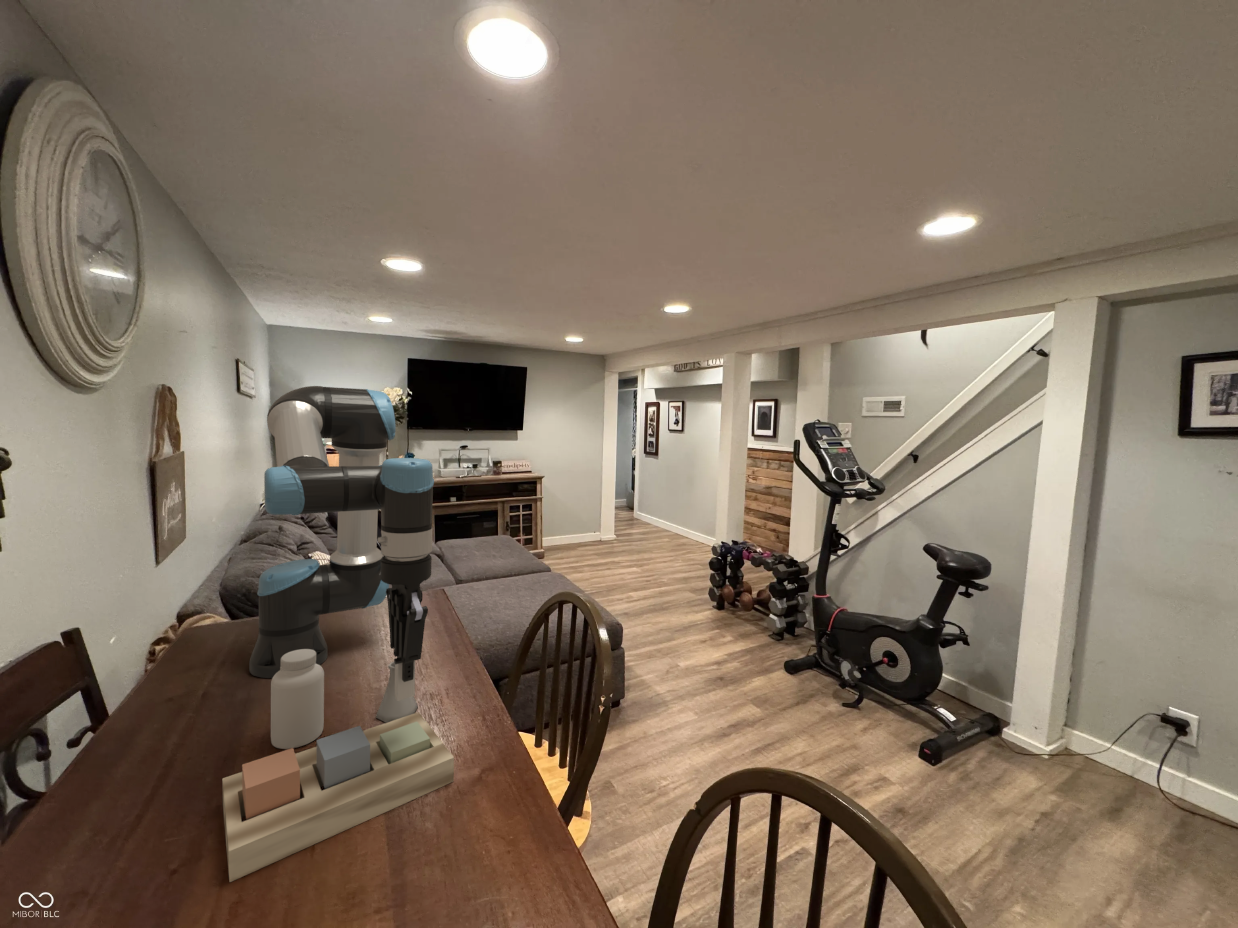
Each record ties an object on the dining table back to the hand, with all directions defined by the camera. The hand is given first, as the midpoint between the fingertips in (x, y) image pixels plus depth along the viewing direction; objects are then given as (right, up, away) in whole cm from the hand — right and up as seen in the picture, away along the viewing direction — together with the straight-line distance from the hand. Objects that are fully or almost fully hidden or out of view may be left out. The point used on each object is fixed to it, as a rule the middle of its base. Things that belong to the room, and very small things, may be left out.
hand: (404, 696), depth 80 cm
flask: (-8, -11, +16) cm, 21 cm away
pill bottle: (-22, -11, +8) cm, 26 cm away
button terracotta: (-14, -8, -12) cm, 20 cm away
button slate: (-7, -8, -6) cm, 12 cm away
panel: (-7, -12, -6) cm, 15 cm away
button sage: (0, -11, 0) cm, 11 cm away
